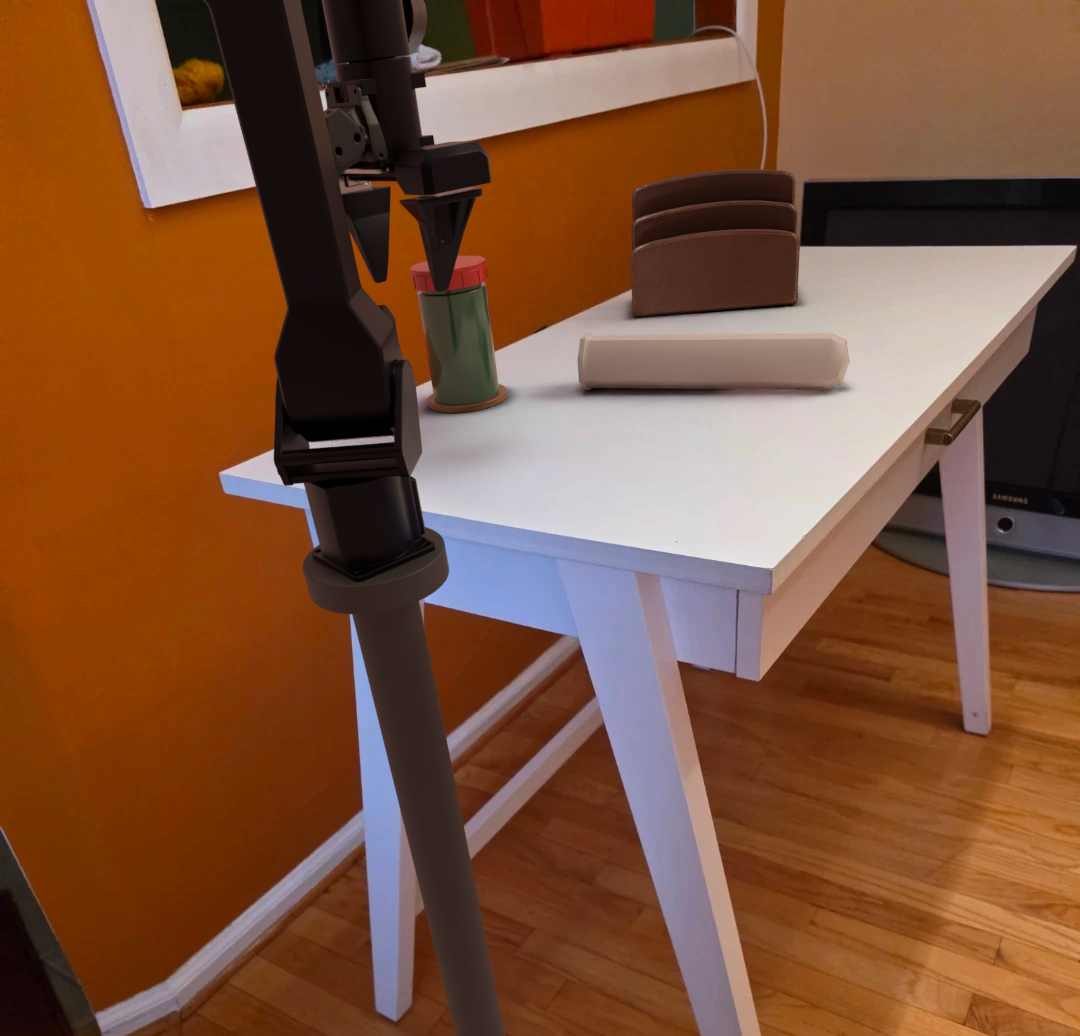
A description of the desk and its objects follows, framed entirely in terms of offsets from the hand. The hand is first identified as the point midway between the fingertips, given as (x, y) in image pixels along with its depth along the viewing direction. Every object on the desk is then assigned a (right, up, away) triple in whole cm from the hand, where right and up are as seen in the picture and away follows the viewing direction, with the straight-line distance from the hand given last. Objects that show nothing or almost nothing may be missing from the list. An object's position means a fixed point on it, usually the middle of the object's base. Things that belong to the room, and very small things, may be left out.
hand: (410, 286), depth 79 cm
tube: (+27, -5, +12) cm, 30 cm away
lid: (+2, +6, +9) cm, 11 cm away
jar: (+3, -4, +16) cm, 17 cm away
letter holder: (+33, +16, +40) cm, 54 cm away
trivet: (+4, -4, +16) cm, 17 cm away
